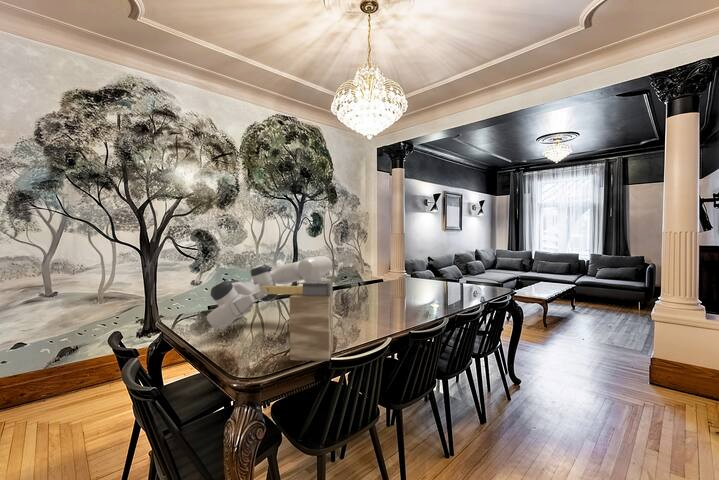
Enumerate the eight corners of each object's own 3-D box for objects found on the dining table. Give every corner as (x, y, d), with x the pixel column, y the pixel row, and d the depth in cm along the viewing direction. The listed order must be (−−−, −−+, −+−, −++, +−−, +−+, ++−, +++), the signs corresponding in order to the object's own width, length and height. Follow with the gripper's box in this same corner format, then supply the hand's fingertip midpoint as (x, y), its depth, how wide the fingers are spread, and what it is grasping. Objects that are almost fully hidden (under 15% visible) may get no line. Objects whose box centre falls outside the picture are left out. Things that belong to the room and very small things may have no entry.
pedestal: (297, 349, 143) (297, 291, 143) (333, 350, 142) (332, 291, 142) (290, 360, 131) (289, 297, 131) (328, 360, 130) (328, 297, 130)
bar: (262, 292, 139) (262, 285, 139) (317, 293, 137) (317, 286, 137) (260, 294, 136) (260, 287, 136) (316, 294, 134) (315, 287, 134)
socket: (307, 292, 140) (306, 280, 140) (332, 292, 139) (332, 280, 139) (302, 296, 132) (302, 283, 132) (329, 296, 132) (329, 283, 132)
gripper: (254, 305, 148) (279, 291, 147) (234, 317, 128) (264, 300, 127) (247, 293, 148) (272, 279, 147) (227, 303, 128) (256, 286, 127)
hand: (268, 289), depth 137 cm, fingers open, 3 cm apart
